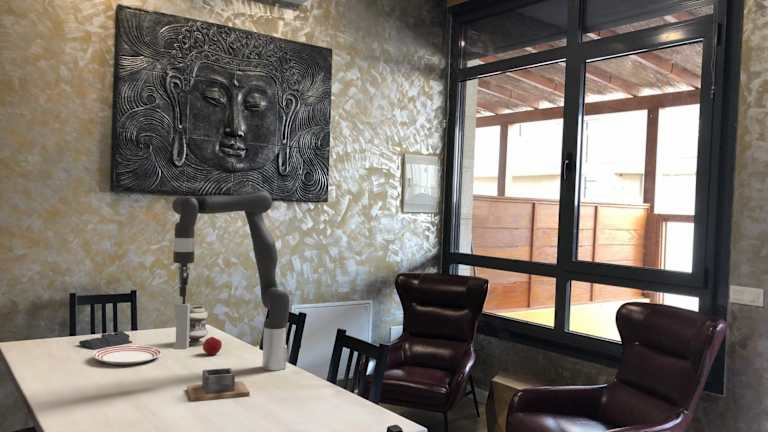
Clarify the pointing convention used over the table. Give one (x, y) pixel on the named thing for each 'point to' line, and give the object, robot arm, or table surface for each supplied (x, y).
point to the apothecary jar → (197, 325)
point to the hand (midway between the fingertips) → (182, 296)
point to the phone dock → (217, 386)
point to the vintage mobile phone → (182, 325)
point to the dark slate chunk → (107, 340)
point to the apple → (212, 345)
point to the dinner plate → (127, 354)
